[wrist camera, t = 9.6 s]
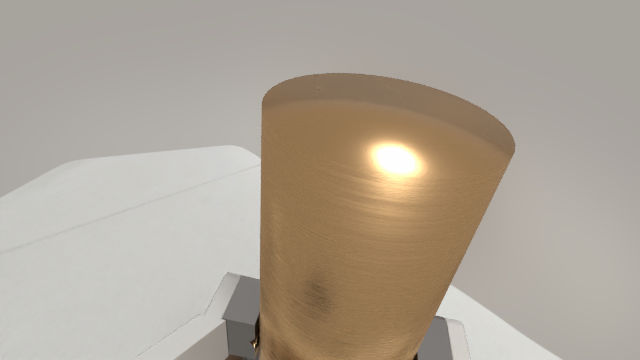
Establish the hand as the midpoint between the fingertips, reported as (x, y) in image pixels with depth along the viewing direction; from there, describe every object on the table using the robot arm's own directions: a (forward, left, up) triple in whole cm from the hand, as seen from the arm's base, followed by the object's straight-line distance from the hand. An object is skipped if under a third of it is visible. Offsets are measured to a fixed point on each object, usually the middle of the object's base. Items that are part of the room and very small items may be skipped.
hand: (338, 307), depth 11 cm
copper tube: (-1, -1, -11) cm, 11 cm away
